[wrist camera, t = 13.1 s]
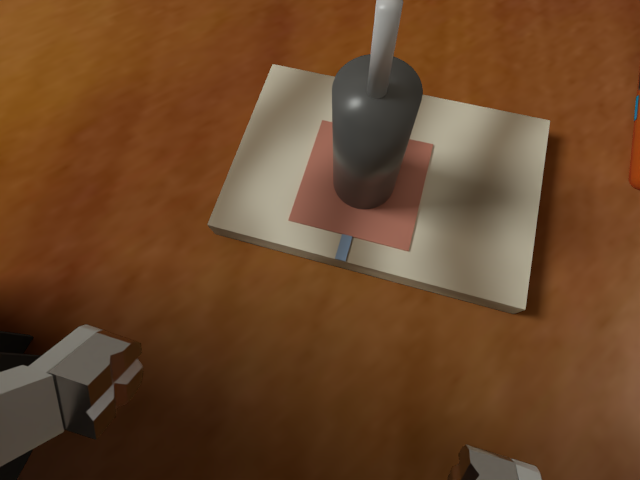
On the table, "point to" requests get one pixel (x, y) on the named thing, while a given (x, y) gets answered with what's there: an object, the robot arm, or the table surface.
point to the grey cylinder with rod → (373, 115)
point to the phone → (636, 145)
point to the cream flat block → (393, 194)
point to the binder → (3, 355)
